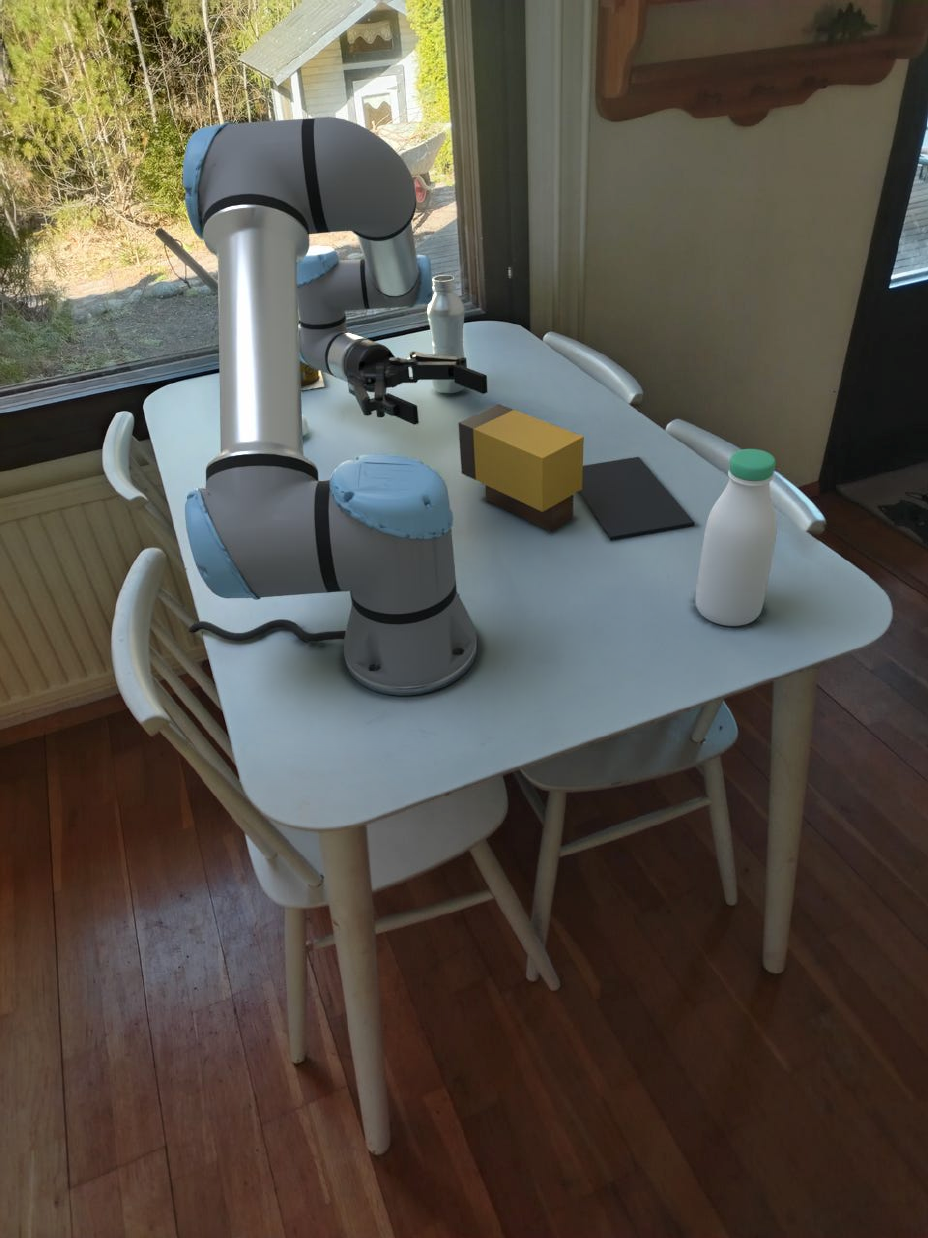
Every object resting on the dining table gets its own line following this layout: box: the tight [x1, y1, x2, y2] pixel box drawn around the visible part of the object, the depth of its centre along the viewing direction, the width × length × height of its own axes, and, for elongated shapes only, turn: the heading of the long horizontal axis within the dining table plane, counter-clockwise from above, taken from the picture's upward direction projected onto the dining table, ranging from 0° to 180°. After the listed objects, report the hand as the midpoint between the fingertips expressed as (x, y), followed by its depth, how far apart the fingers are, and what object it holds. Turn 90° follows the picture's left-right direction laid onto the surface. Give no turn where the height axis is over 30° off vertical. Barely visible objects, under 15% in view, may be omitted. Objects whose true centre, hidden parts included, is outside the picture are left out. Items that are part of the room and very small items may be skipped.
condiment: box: [298, 313, 325, 391], centre depth 160 cm, size 7×8×12 cm
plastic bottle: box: [426, 274, 466, 394], centre depth 150 cm, size 6×7×20 cm
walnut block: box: [484, 484, 575, 533], centre depth 121 cm, size 13×4×4 cm, turn 43°
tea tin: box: [457, 403, 585, 512], centre depth 118 cm, size 16×8×8 cm, turn 43°
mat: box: [577, 456, 695, 541], centre depth 123 cm, size 12×20×1 cm, turn 13°
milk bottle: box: [694, 448, 778, 627], centre depth 96 cm, size 8×8×20 cm
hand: (451, 399), depth 124 cm, fingers open, 13 cm apart
